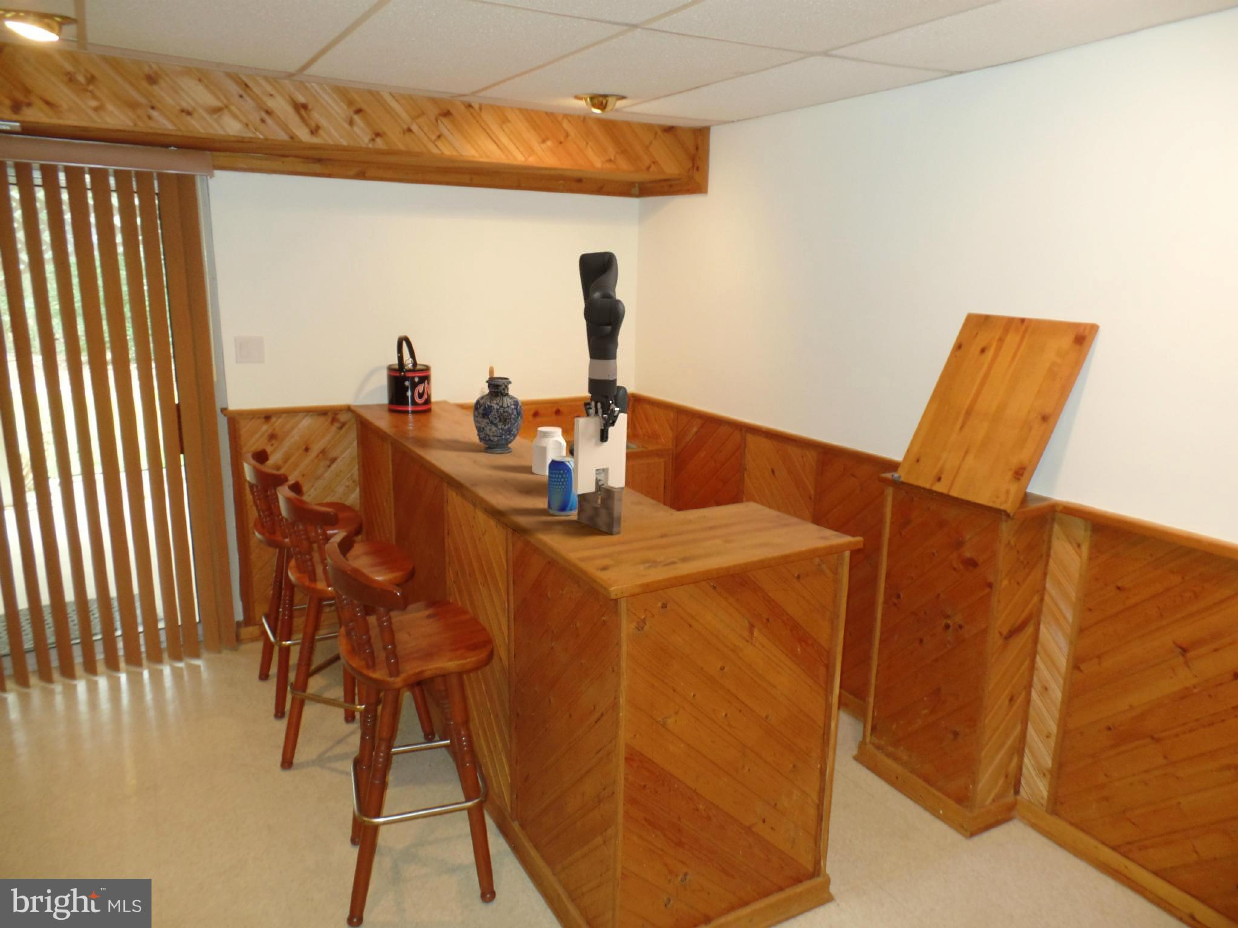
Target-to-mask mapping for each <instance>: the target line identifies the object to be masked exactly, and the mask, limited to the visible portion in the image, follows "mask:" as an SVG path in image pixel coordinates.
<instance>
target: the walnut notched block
mask: <svg viewBox="0 0 1238 928" xmlns="http://www.w3.org/2000/svg"><path fill="white" fill-rule="evenodd" d="M599 492H600V497H598V496H599ZM599 498H600V499H599ZM622 504H623V490H621V489H618V488H615V487H612V486H610V485H605V486H601V491H599V482H598V481H595V491H594V492H588V493H582V494H578V498H577V518H576V519H577V521H578V522H581V523H583V524H585V525H587V526H590V527H592V526H593V528H595V529H597V528H598V529H597V530H600V529H601V530H600V531H602V530H603V531H602V532H605V531H606V532H605V533H607V532H609V533H608V534H610V535H612V534H613V535H612V536H615V535H614V534H616V535H620V534H619V533H621V534H622V532H621V531H622V512H623V511H622Z"/></svg>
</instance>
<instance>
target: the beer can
mask: <svg viewBox="0 0 1238 928" xmlns="http://www.w3.org/2000/svg"><path fill="white" fill-rule="evenodd" d="M573 475H574V457H572V456H571V455H566V456H554V457H552V460H551V462H550V463H549V465H548V475H547V510H548V511H549V513H550V514H551V515H554V516H563V517H564V516H565V517H566V516H571V515H574V514H575V512H576V511H577V510H578V498H577V494H576V493H573Z"/></svg>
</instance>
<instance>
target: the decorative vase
mask: <svg viewBox="0 0 1238 928" xmlns="http://www.w3.org/2000/svg"><path fill="white" fill-rule="evenodd" d="M485 383H486V384H487V388H488V392H487V393H486V394H484V395H483V394H482V395H481V396H479V397H478V398H477V399H476V400H475V402H474V404H473V409H472V410H473V411H472V417H473V424H474V427H475V430H476V432H477V433H476V436H477V437H478V442H479V443H480V444H483V445H484V446H485V447H484V448H483V452H485V453H487V454H494V455H495V454H496V455H500V454H501V455H503V454H509V453H512V452H513V448H512V447H510V446H509V445H510V444H512V443H513V442H514V441H515V440H516V439H517V437H518V434H519V432H520V430H521V427H522V423H523V419H524V418H523V417H524V411H523V404H522V403H521V401H520V399H519V398H518V397H516V396H514V395H512V394H510V393H509V392H510V390H509V389H510V387H509V385H512V384H513V382H512V381H511V380H510V377H505V376H489V377H488V379H487V380H486V381H485Z"/></svg>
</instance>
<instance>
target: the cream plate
mask: <svg viewBox="0 0 1238 928" xmlns="http://www.w3.org/2000/svg"><path fill="white" fill-rule="evenodd" d="M603 416H607V415H603ZM605 422H606V419H605V420H604V423H605ZM600 429H601V427H600V419H599V416H592V415H591V416H589V417H587V416H581V417H574V432H573V435H574V436H573V440H574V441H573V443H574V475H573V493H576V494H582V493H588V492H594V491H595V472H596V469H602V468H604V486H605V485H610V486H612V487H615V488H618V487H623V488H624V487H626V485H625V484H626V462H627V461H626V457H627V456H626V455H627V453H626V452H627V435H628V434H627V429H628V414H624V413H620V414H619V416H618V418H617V421H616V423H615V426H614V427H610V428H609V434H608V441H607V442H603V443H602V442H600Z"/></svg>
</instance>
